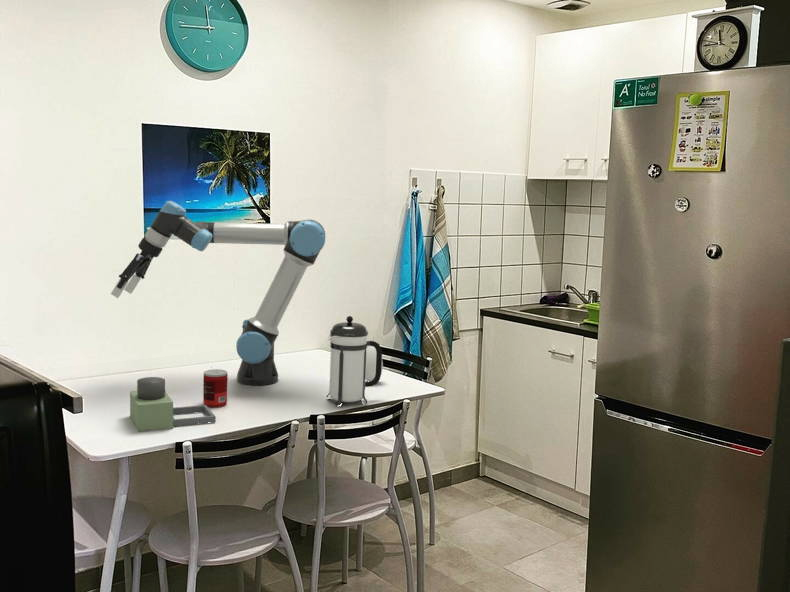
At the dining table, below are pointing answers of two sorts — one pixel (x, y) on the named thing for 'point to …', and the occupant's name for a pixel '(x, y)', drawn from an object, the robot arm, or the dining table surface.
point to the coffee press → (350, 362)
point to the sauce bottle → (371, 363)
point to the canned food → (215, 388)
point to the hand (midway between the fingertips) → (121, 293)
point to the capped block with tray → (160, 407)
